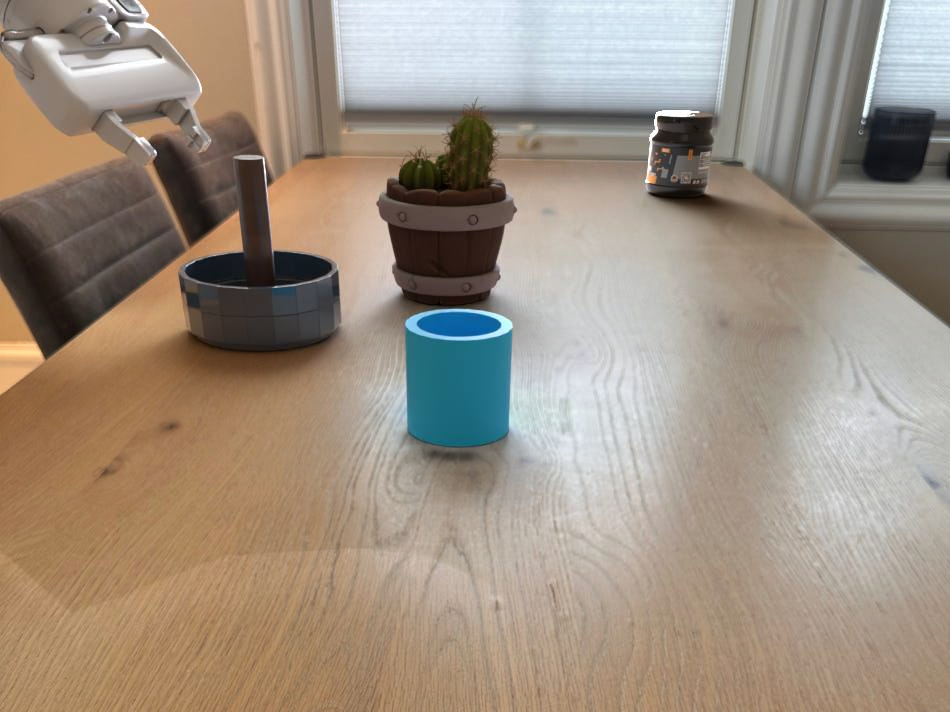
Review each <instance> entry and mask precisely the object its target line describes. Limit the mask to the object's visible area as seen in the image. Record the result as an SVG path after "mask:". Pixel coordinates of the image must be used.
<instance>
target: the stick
mask: <svg viewBox="0 0 950 712" xmlns="http://www.w3.org/2000/svg"><path fill="white" fill-rule="evenodd" d="M232 160H233V161H232V163H233V172H234V181H235V188H236V189H235V191H236V198H237V207H238V216H239V225H240V235H241V245H242V251H243V254H244V263H245V272H246V281H247V287H270V286H276V279H275V269H274V258H273V250H274V249H273V248H274V247H273V236H272V228H271V227H272V226H271V217H270V216H271V215H270V207H269V197H268V196H269V195H268V184H267V172H266V163H265V157H264V156H263V155H259V154H239V155H234V156H233V157H232Z"/></svg>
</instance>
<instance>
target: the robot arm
mask: <svg viewBox="0 0 950 712" xmlns="http://www.w3.org/2000/svg"><path fill="white" fill-rule="evenodd" d="M148 18H149V13H148V11H147V9H146V8H145V6H144V5H143V4H142V3H141V1H139V0H0V26H1V27H2V29H3V31H1V32H0V53H1V54H2V56H3V57H4V58H5V59H6V61H8V62H9V63H10V65H11V66H12V67H13V73H14V76H15V78H16V79H17V81H18V83H19V85H20V86H21V87H22V89H23V90H24V92H25V93H26V94H27V96H28V97H29V98H30V99H31V101H32V102H33V104H34V105H35V106H36V107H37V108H38V110H39V111H40V112H41V114H42V115H43V116H44V118H45V119H46V120H47V121H48V122H49V123H50V125H51V126H52V127H53V128H54V129H56V130H57V131H59V132H60V133H62V134H64V135H65V136H67V137H77V136H83V135H87V134H93V133H94V134H96V135H97V136H98V137H99V139H101V141H102V142H104V143H106V144H107V145H109V146H111V147H112V148H114V149H116V150H117V151H119V152H120V153H122V154H125V156H126V157H127V158H128V159H129V160H130V161H131V162H132V163H133V164H134V165H135V167H137V168H142V167H143V168H144V167H147V166H150V165H151V164H152V163H153V161H154V160H155V159H156V157H157V151H156V149H155V148H154V147H153V146H152V145H151V143H150V142H149V141H148V140H147V139H146V138H145V137H144V136H143V137H138V136H137V135H136V134H135V133H133V132H132V131H131V130H129V128H127V127H130V126H136V125H141V124H145V123H146V124H147V123H151V122H157V121H163V120H167V119H169V120H170V121H171V122H172V124H173V125H174V126H179V128H180V130H181V132H182V134H183V136H184V138H183V139H182V142H183V143H184V144H185V145H186V147H187V148H188V149H190V151H191V152H192V153H193V154H200V153H204V152H206V151H207V149H208V148H209V146H210V145H211V144H212V139H211V137H210V136H209V134H208V133H207V132H206V131H205V130H204V128H203V127H202V126H201V123H200V120H199V118H198V115H197V112H196V109H195V108H194V106H195V105H196V103H197V101H198V100H199V99H200V97H201V96H202V93H203V90H202V85H201V83H200V79H199V78H198V76H197V74H196V73H195V72H194V70H193V69H192V68H191V66H190V65H189V64H188V63H187V61H186V60H185V58H184V57H182V55H181V54H180V53H179V51H178V50H177V49H176V48H175V46H173V44H172V43H171V42H170V41H169V40H168V38H167V37H166V36H165V35H164V34H163V33H162V32H161V31H160V30H158V29H157V27H155V26H154V25H152V24H150V23H148V22H147V20H148Z"/></svg>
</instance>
